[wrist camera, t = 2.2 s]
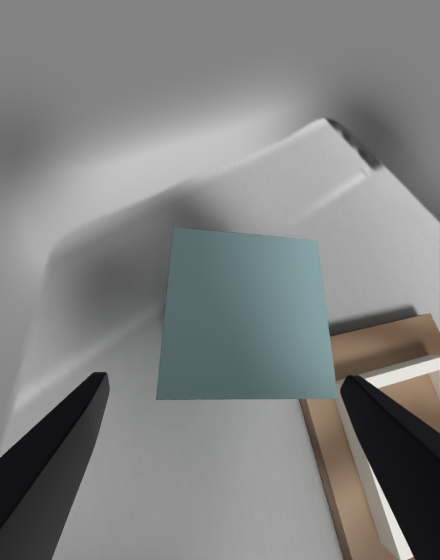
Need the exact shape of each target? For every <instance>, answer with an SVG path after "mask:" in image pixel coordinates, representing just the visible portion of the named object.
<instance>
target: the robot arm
mask: <svg viewBox="0 0 440 560" xmlns="http://www.w3.org/2000/svg"><path fill="white" fill-rule="evenodd" d="M109 390H110V388H109V381H108V375H107V373H106V372H94V373H92V374H91V375H90V376H89V377H88V378H87V379H86V380H84V381H83V382H82V383H81V384H80V385H79V386H78V387H77V388H76V389H75V390H74V391H72V392H71V393H70V394H69V395H68V396H67V397H66V398H65V399H64V400H63V401H62V402H60V403H59V404H58V405H57V406H56V407H55V408H54V409H53V410H52V411H51V412H50V413H48V414H47V415H46V416H45V417H44V418H43V419H42V420H41V421H40V422H39V423H38V424H36V425H35V426H34V427H33V428H32V429H31V430H30V431H29V432H28V433H27V434H26V435H24V436H23V437H22V438H21V439H20V440H19V441H18V442H17V443H16V444H15V445H14V446H12V447H11V448H10V449H9V450H8V451H7V452H6V453H5V454H4V455H3V456H2V457H1V458H0V560H51V559H52V557H53V554H54V552H55V549H56V546H57V544H58V541H59V538H60V536H61V533H62V531H63V528H64V525H65V523H66V520H67V517H68V515H69V512H70V510H71V507H72V504H73V502H74V499H75V496H76V494H77V491H78V489H79V486H80V483H81V481H82V478H83V476H84V473H85V470H86V468H87V465H88V462H89V460H90V457H91V455H92V452H93V449H94V446H95V443H96V440H97V436H98V433H99V429H100V425H101V422H102V418H103V414H104V411H105V407H106V403H107V400H108V396H109ZM340 394H341V397H342V400H343V402H344V405H345V408H346V410H347V413H348V416H349V418H350V421H351V424H352V426H353V429H354V431H355V434H356V436H357V439H358V441H359V443H360V445H361V447H362V449H363V451H364V454H365V456H366V458H367V460H368V462H369V464H370V466H371V468H372V470H373V472H374V475H375V477H376V479H377V481H378V483H379V485H380V487H381V489H382V491H383V493H384V496H385V498H386V500H387V502H388V504H389V506H390V508H391V510H392V512H393V514H394V517H395V519H396V521H397V523H398V525H399V527H400V529H401V531H402V533H403V535H404V538H405V540H406V542H407V544H408V546H409V548H410V550H411V552H412V554H413V557H414V559H415V560H440V433H439V432H438V431H436V430H435V429H433V428H432V427H431V426H429V425H428V424H426V423H425V422H424V421H422V420H421V419H420V418H418V417H417V416H415V415H414V414H413V413H411V412H410V411H408V410H407V409H406V408H404V407H403V406H401V405H400V404H399V403H397V402H396V401H395V400H393V399H392V398H390V397H389V396H388V395H386V394H385V393H383V392H382V391H381V390H379V389H378V388H376V387H375V386H374V385H372V384H371V383H370V382H368V381H367V380H365V379H364V378H363V377H361V376H359V375H348V376H347V377H346V378H345V380H344V382H343V384H342V386H341V388H340Z"/></svg>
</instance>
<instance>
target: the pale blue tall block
mask: <svg viewBox="0 0 440 560" xmlns="http://www.w3.org/2000/svg"><path fill="white" fill-rule="evenodd" d="M194 399H338V394H337V386H336V379H335V371H334V364H333V356H332V349H331V341H330V334H329V326H328V318H327V311H326V303H325V296H324V288H323V281H322V273H321V266H320V258H319V250H318V243H317V241H316V240H305V239H295V238H284V237H274V236H263V235H253V234H242V233H232V232H221V231H210V230H200V229H189V228H179V227H173V234H172V244H171V254H170V264H169V274H168V285H167V295H166V305H165V315H164V325H163V335H162V346H161V356H160V366H159V376H158V386H157V396H156V400H194Z"/></svg>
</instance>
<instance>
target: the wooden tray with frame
mask: <svg viewBox="0 0 440 560" xmlns="http://www.w3.org/2000/svg"><path fill="white" fill-rule="evenodd" d="M330 341H331V349H332V356H333V364H334V371H335V379H336V386H337V394H338V399H299V400H300V403H301V407H302V411H303V414H304V418H305V421H306V425H307V428H308V432H309V436H310V439H311V443H312V446H313V450H314V454H315V457H316V461H317V464H318V468H319V471H320V475H321V479H322V482H323V486H324V489H325V493H326V496H327V500H328V504H329V507H330V511H331V514H332V518H333V522H334V525H335V529H336V532H337V536H338V539H339V543H340V547H341V550H342V554H343V557H344V560H415V559H414V557H413V554H412V552H411V550H410V548H409V546H408V544H407V542H406V540H405V538H404V535H403V533H402V531H401V529H400V527H399V525H398V523H397V521H396V519H395V517H394V514H393V512H392V510H391V508H390V506H389V504H388V502H387V500H386V498H385V496H384V493H383V491H382V489H381V487H380V485H379V483H378V481H377V479H376V477H375V475H374V472H373V470H372V468H371V466H370V464H369V462H368V460H367V458H366V456H365V454H364V451H363V449H362V447H361V445H360V443H359V441H358V439H357V436H356V434H355V431H354V429H353V426H352V424H351V421H350V418H349V416H348V413H347V410H346V408H345V405H344V402H343V400H342V397H341V394H340V388H341V386H342V384H343V382H344V380H345V378H346V377H347V376H348V375H359V376H361V377H363V378H364V379H365V380H367V381H368V382H370V383H371V384H372V385H374V386H375V387H376V388H378V389H379V390H381V391H382V392H383V393H385V394H386V395H388V396H389V397H390V398H392V399H393V400H395V401H396V402H397V403H399V404H400V405H401V406H403V407H404V408H406V409H407V410H408V411H410V412H411V413H413V414H414V415H415V416H417V417H418V418H420V419H421V420H422V421H424V422H425V423H426V424H428V425H429V426H431V427H432V428H433V429H435V430H436V431H438V432H439V433H440V332H439V330H438V328H437V326H436V324H435V322H434V320H433V318H432V315H431V314H425V315H419V316H414V317H410V318H405V319H401V320H397V321H393V322H388V323H384V324H380V325H375V326H371V327H367V328H362V329H358V330H354V331H349V332H345V333H341V334H337V335H332V336H330Z"/></svg>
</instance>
